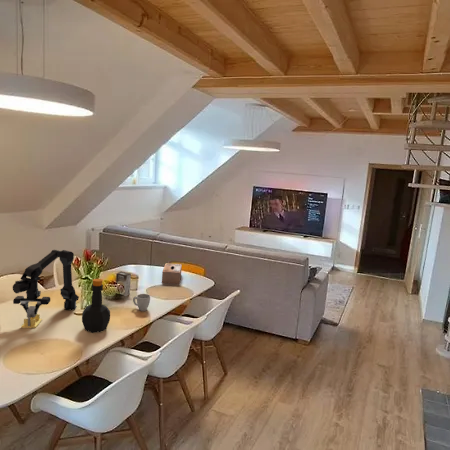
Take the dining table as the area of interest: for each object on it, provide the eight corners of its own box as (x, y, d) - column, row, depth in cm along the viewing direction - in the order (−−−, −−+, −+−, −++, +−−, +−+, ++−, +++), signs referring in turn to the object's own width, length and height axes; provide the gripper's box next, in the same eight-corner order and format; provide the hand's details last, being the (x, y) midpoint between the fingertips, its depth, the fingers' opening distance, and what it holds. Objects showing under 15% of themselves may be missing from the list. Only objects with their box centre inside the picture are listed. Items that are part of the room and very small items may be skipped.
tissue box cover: (179, 284, 318) (179, 272, 316) (161, 283, 317) (162, 271, 315) (181, 275, 343) (181, 264, 342) (164, 274, 342) (165, 263, 341)
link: (37, 314, 226) (37, 306, 225) (34, 317, 221) (34, 309, 220) (29, 313, 225) (29, 305, 224) (26, 317, 220) (26, 309, 220)
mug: (151, 308, 262) (152, 295, 260) (145, 312, 254) (146, 299, 252) (135, 305, 265) (136, 292, 263) (129, 309, 256) (130, 296, 255)
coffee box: (114, 294, 282) (115, 273, 280) (119, 291, 288) (120, 271, 286) (125, 296, 280) (126, 275, 277) (130, 293, 286) (131, 273, 283)
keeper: (42, 320, 230) (42, 310, 229) (36, 327, 219) (36, 318, 218) (27, 319, 228) (27, 310, 228) (21, 327, 218) (21, 317, 217)
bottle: (87, 321, 233) (88, 274, 228) (114, 324, 233) (116, 277, 228) (76, 333, 217) (77, 282, 212) (105, 335, 217) (107, 285, 212)
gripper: (53, 284, 230) (52, 309, 232) (20, 283, 227) (20, 308, 229) (47, 290, 219) (47, 316, 222) (12, 289, 216) (12, 315, 218)
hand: (32, 314), depth 223 cm, fingers closed on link, 4 cm apart
